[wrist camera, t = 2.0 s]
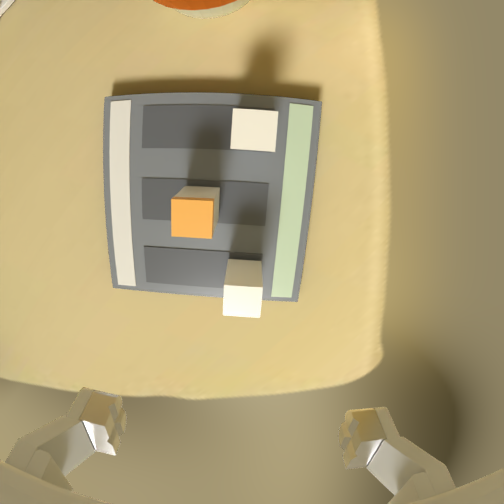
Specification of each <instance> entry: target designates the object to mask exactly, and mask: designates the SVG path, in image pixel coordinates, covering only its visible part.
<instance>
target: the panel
mask: <svg viewBox="0 0 504 504" xmlns="http://www.w3.org/2000/svg"><path fill="white" fill-rule="evenodd" d="M321 106H322V102H321V101H313V100H306V99H297V98H288V97H278V96H267V95H253V94H235V93H151V94H134V95H121V96H110V97H105V102H104V129H103V169H104V197H105V214H106V228H107V239H108V250H109V259H110V267H111V275H112V283H113V288H120V289H129V290H139V291H150V292H160V293H171V294H183V295H195V296H208V297H222V298H223V297H224V281H225V275H226V269H227V263H228V259H238V260H254V261H261V264H262V280H263V292H262V300H271V301H291V302H298V296H299V290H300V284H301V277H302V270H303V263H304V256H305V249H306V242H307V235H308V227H309V220H310V212H311V204H312V195H313V187H314V178H315V169H316V159H317V150H318V139H319V129H320V118H321ZM233 108H237V109H254V110H268V111H278V123H277V135H276V147H275V152H269V151H256V150H241V149H230V146H231V130H232V115H233ZM185 186H200V187H220V198H219V219H218V222H217V225H216V228H215V231H214V234H213V237H212V239H206V238H190V237H173V236H172V235H171V199H172V198H173V197H174V196H175V195H176V194H177V193H178V192H179V191H180V190H181V189H182V188H183V187H185Z"/></svg>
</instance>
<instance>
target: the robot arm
mask: <svg viewBox="0 0 504 504" xmlns="http://www.w3.org/2000/svg"><path fill="white" fill-rule="evenodd" d="M14 1H15V0H0V17H1V15H2V14H3V13H4V12H5V11H6V10H7V9H8V8H9V6H10V5H11V4H12V3H13V2H14ZM122 404H123V401H122V397H121V396H118V395H114V394H110V393H105V392H101V391H97V390H93V389H89V388H85V387H83V388H82V389H81V390H80V391H79V393H78V395H77V397H76V398H75V400H74V402H73V404H72V406H71V408H70V409H69V411H68V413H67V415H66V416H61V417H59V418H57V419H55V420H54V421H52V422H50V423H48V424H46V425H44V426H42V427H40V428H38V429H37V430H35V431H33V432H31V433H29V434H27V435H25V436H24V437H21V438H19V439H18V440H17V442H16V443H15V445H14V447H13V449H12V450H11V452H10V454H9V456H8V458H7V459H6V461H5V462H3V461H1V460H0V504H111V503H108V502H104V501H101V500H97V499H94V498H91V497H88V496H85V495H82V494H79V493H75V492H73V491H72V490H73V488H72V486H71V484H70V483H69V482H68V480H67V479H66V478H65V475H67V474H68V473H69V472H71V471H72V470H73V469H74V468H76V467H77V466H78V465H79V464H81V463H82V462H83V461H85V460H86V459H87V458H88V457H90V456H91V455H92V454H93V453H95V451H99V452H103V453H108V454H112V455H116V454H117V451H118V448H119V445H120V443H121V442H120V439H119V436H120V435H122V434H123V433H124V431H125V427H126V413H125V410H124V409H123V408H122V407H121V406H122ZM344 417H345V422H344V423H342V424H341V426H340V428H339V434H338V439H339V445H340V447H341V448H342V449H343V450H345V451H344V453H343V455H342V457H343V460H344V464H345V468H346V469H352V468H361V467H367V469H368V470H369V471H370V472H371V473H372V474H373V475H374V476H375V477H376V478H377V479H378V480H379V481H380V482H381V483H382V484H383V485H384V486H385V487H387V488H388V489H389V490H390V491H391V492H392V493H393V494H394V495H395V496H394V497H393V498H392V500H390V502H389V503H388V504H504V468H502V469H500V470H498V471H496V472H494V473H492V474H490V475H487V476H485V477H483V478H481V479H478V480H476V481H474V482H471V483H469V484H466V485H464V486H461V487H458V488H456V487H455V485H454V483H453V480H452V478H451V476H450V474H449V472H448V470H447V467H446V465H445V464H443V463H442V462H440V461H439V460H437V459H435V458H434V457H432V456H431V455H429V454H428V453H426V452H425V451H424V450H422V449H421V448H419V447H418V446H416V445H415V444H413V443H412V442H410V441H409V440H407V439H406V438H405V437H400V436H399V434H398V431H397V429H396V427H395V425H394V422H393V420H392V418H391V416H390V414H389V411H388V409H387V408H386V407H379V408H367V409H357V410H348V411H347V412H346V414H345V416H344Z"/></svg>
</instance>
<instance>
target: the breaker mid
mask: <svg viewBox="0 0 504 504" xmlns="http://www.w3.org/2000/svg"><path fill="white" fill-rule="evenodd" d="M219 198H220V187H200V186H185V187H183V188H182V189H181V190H180V191H179V192H178V193H177V194H176V195H175V196H174V197H173V198H172V199H171V235H172V236H173V237H190V238H206V239H212V237H213V234H214V231H215V228H216V225H217V222H218V219H219Z"/></svg>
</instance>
